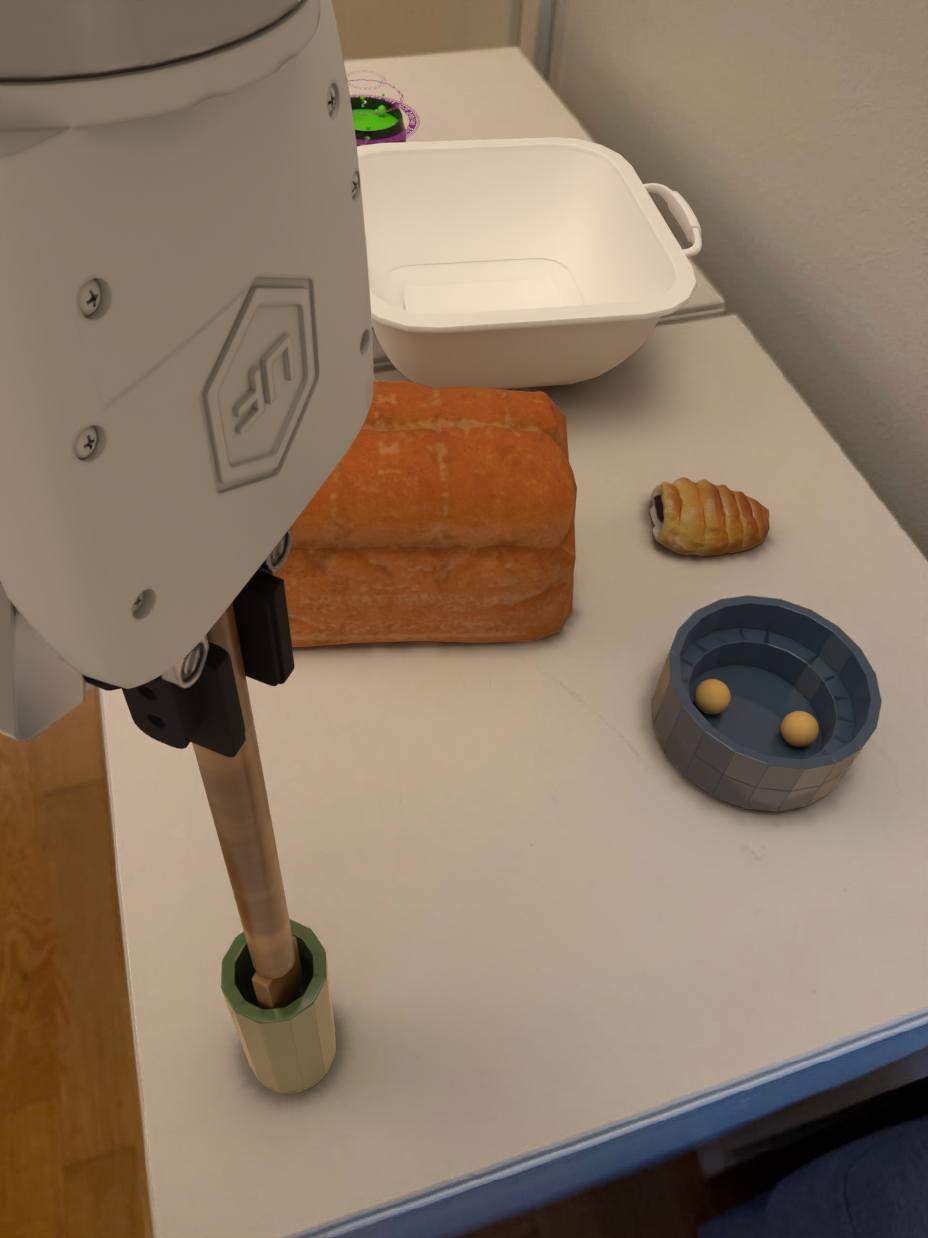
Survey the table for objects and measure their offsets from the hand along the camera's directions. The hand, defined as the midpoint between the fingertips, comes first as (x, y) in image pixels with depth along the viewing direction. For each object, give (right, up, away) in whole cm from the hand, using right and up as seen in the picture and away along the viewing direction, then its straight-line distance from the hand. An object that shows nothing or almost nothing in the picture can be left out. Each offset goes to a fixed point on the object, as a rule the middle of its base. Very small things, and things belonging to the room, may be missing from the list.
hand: (215, 692), depth 27 cm
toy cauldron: (-4, +50, +84) cm, 97 cm away
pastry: (+25, +9, +53) cm, 60 cm away
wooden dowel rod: (-2, -15, +19) cm, 25 cm away
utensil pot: (-2, -21, +27) cm, 34 cm away
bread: (+1, +5, +48) cm, 48 cm away
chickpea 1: (+24, -3, +41) cm, 47 cm away
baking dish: (+9, +28, +67) cm, 73 cm away
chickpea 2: (+29, -5, +39) cm, 49 cm away
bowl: (+26, -5, +41) cm, 49 cm away
